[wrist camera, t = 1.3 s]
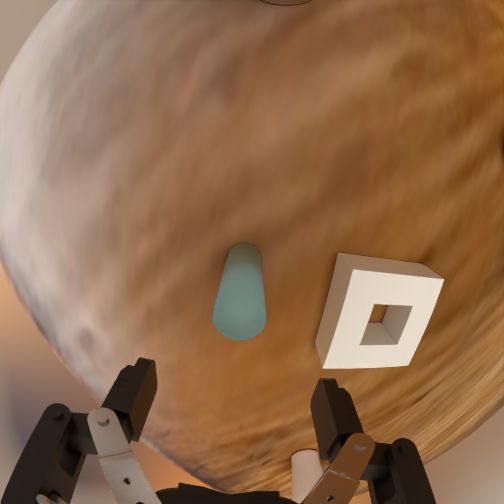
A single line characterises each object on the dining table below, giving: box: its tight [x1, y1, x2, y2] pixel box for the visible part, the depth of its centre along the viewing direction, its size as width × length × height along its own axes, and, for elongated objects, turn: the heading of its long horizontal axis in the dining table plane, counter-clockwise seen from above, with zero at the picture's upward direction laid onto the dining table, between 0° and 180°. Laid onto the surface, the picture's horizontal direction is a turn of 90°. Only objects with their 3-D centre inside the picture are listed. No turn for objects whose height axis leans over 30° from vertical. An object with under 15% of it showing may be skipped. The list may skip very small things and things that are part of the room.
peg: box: [212, 243, 266, 341], centre depth 24 cm, size 4×4×12 cm
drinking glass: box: [291, 449, 323, 504], centre depth 35 cm, size 7×7×15 cm
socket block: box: [315, 253, 444, 368], centre depth 29 cm, size 12×12×5 cm
